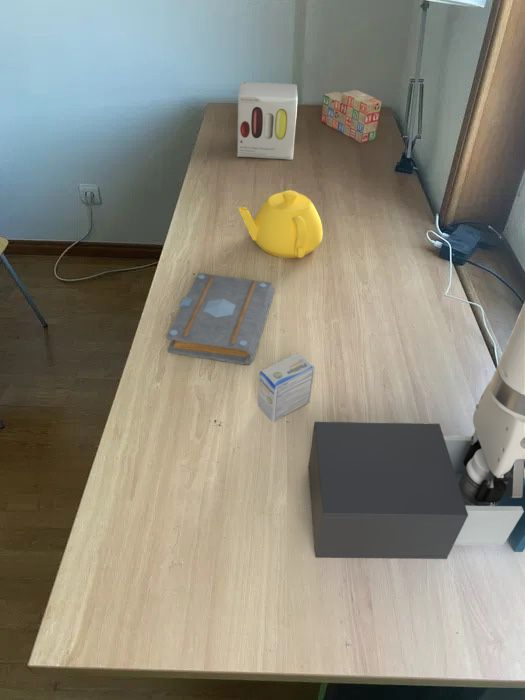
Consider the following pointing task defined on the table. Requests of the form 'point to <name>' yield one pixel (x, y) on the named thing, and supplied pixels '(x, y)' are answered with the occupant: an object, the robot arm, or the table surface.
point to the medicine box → (285, 386)
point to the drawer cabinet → (383, 491)
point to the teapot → (285, 225)
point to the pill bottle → (474, 479)
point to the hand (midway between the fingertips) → (480, 481)
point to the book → (221, 319)
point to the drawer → (488, 509)
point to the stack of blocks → (352, 114)
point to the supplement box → (266, 120)
